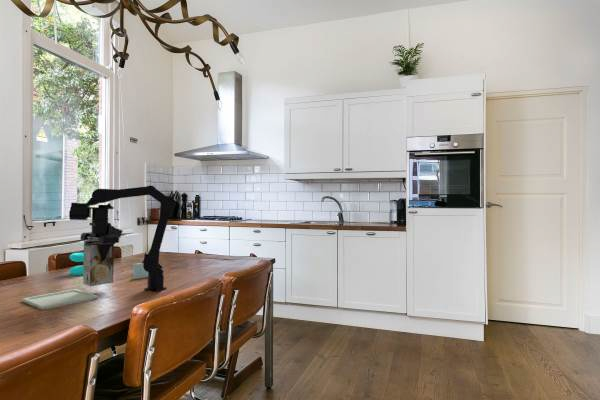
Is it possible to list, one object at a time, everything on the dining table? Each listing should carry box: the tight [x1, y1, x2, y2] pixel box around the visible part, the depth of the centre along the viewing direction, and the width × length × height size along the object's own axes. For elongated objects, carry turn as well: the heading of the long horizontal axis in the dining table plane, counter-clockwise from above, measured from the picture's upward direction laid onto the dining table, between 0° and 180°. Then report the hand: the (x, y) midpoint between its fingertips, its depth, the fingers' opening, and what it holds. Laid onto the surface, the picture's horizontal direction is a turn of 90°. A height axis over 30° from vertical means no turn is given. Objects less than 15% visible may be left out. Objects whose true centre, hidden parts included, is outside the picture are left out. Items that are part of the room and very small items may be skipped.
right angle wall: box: [132, 262, 149, 280], centre depth 180 cm, size 12×12×8 cm
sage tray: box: [22, 288, 98, 311], centre depth 135 cm, size 16×18×1 cm
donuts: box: [68, 251, 84, 276], centre depth 180 cm, size 10×10×10 cm
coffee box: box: [82, 243, 115, 287], centre depth 146 cm, size 9×6×16 cm
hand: (98, 259), depth 146 cm, fingers closed on coffee box, 6 cm apart
